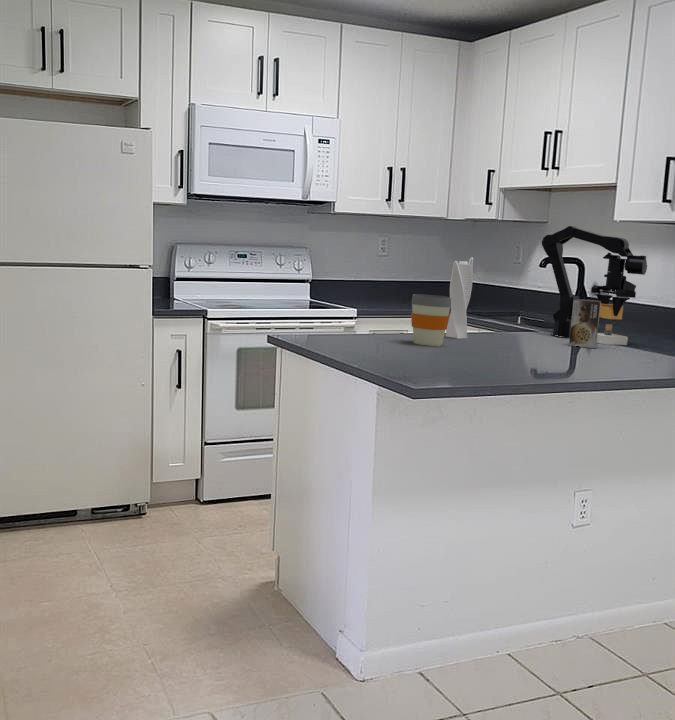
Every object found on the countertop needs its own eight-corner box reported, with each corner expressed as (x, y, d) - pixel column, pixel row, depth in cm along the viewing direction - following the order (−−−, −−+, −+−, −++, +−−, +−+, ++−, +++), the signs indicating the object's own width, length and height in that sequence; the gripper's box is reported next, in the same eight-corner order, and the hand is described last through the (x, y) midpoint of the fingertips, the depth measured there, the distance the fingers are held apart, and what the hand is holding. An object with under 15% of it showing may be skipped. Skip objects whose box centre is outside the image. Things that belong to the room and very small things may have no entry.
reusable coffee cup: (421, 346, 261) (426, 297, 259) (400, 340, 272) (404, 293, 270) (455, 346, 267) (460, 298, 264) (433, 341, 278) (437, 294, 275)
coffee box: (596, 347, 297) (601, 300, 295) (595, 348, 291) (601, 301, 289) (569, 344, 300) (574, 298, 298) (568, 345, 294) (573, 299, 292)
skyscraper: (473, 339, 294) (481, 257, 290) (459, 340, 288) (467, 257, 284) (453, 336, 299) (460, 256, 295) (439, 337, 294) (447, 255, 290)
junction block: (604, 344, 308) (606, 325, 307) (587, 340, 318) (589, 322, 317) (626, 345, 312) (629, 326, 311) (609, 341, 321) (611, 323, 320)
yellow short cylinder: (608, 318, 310) (609, 305, 309) (597, 316, 315) (599, 303, 314) (621, 319, 312) (623, 305, 311) (611, 317, 317) (613, 304, 317)
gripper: (650, 275, 305) (645, 318, 307) (617, 271, 322) (612, 313, 325) (625, 273, 301) (619, 317, 304) (592, 270, 319) (587, 311, 321)
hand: (610, 315), depth 313 cm, fingers closed on yellow short cylinder, 6 cm apart
